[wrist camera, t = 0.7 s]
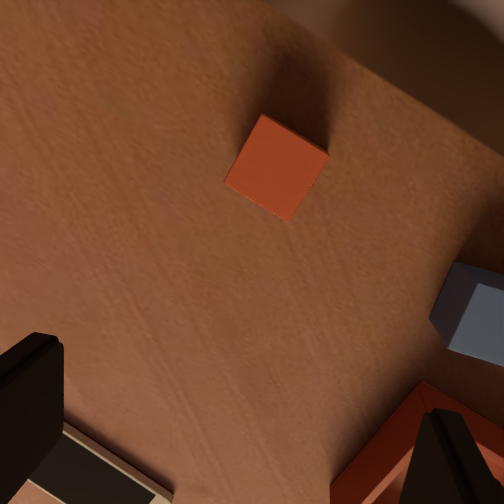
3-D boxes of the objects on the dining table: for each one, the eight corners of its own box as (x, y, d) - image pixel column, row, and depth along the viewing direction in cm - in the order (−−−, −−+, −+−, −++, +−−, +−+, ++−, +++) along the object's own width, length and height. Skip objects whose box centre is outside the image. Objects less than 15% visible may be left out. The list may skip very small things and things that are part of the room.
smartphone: (27, 396, 37) (20, 402, 36) (175, 495, 37) (172, 504, 36) (-4, 448, 39) (-12, 456, 38) (137, 541, 40) (132, 551, 39)
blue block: (454, 260, 29) (478, 282, 24) (520, 279, 28) (557, 306, 24) (428, 318, 30) (447, 349, 26) (491, 337, 30) (521, 372, 26)
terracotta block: (269, 115, 28) (261, 112, 24) (328, 152, 28) (330, 155, 24) (236, 175, 29) (222, 183, 25) (292, 209, 29) (287, 222, 25)
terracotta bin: (421, 379, 31) (438, 418, 27) (561, 464, 32) (600, 516, 27) (329, 487, 35) (330, 536, 31) (455, 562, 35) (474, 622, 31)
